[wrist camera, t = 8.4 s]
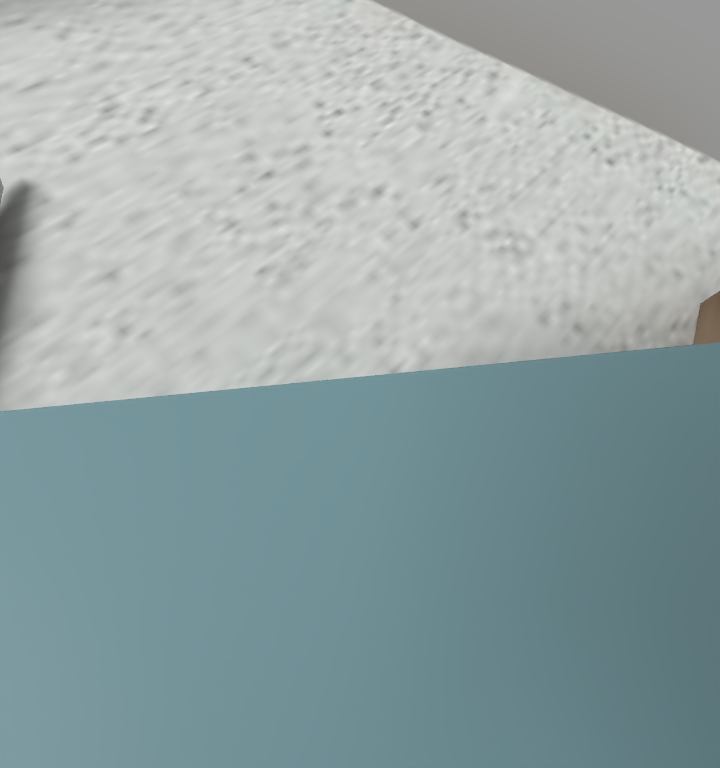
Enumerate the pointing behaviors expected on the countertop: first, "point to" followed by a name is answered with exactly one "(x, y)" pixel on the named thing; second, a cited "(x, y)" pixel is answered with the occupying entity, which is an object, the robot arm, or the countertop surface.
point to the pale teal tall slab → (370, 571)
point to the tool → (1, 190)
